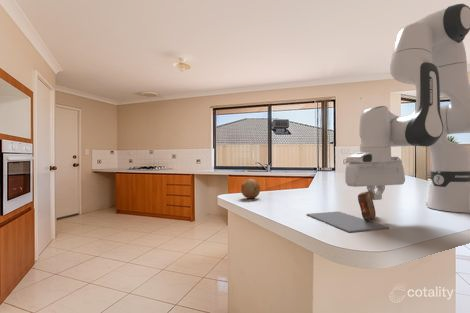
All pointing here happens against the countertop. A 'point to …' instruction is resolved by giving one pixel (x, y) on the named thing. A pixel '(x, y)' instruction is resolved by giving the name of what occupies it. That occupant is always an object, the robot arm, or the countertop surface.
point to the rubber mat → (347, 222)
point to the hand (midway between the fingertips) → (376, 199)
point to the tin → (366, 206)
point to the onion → (250, 188)
